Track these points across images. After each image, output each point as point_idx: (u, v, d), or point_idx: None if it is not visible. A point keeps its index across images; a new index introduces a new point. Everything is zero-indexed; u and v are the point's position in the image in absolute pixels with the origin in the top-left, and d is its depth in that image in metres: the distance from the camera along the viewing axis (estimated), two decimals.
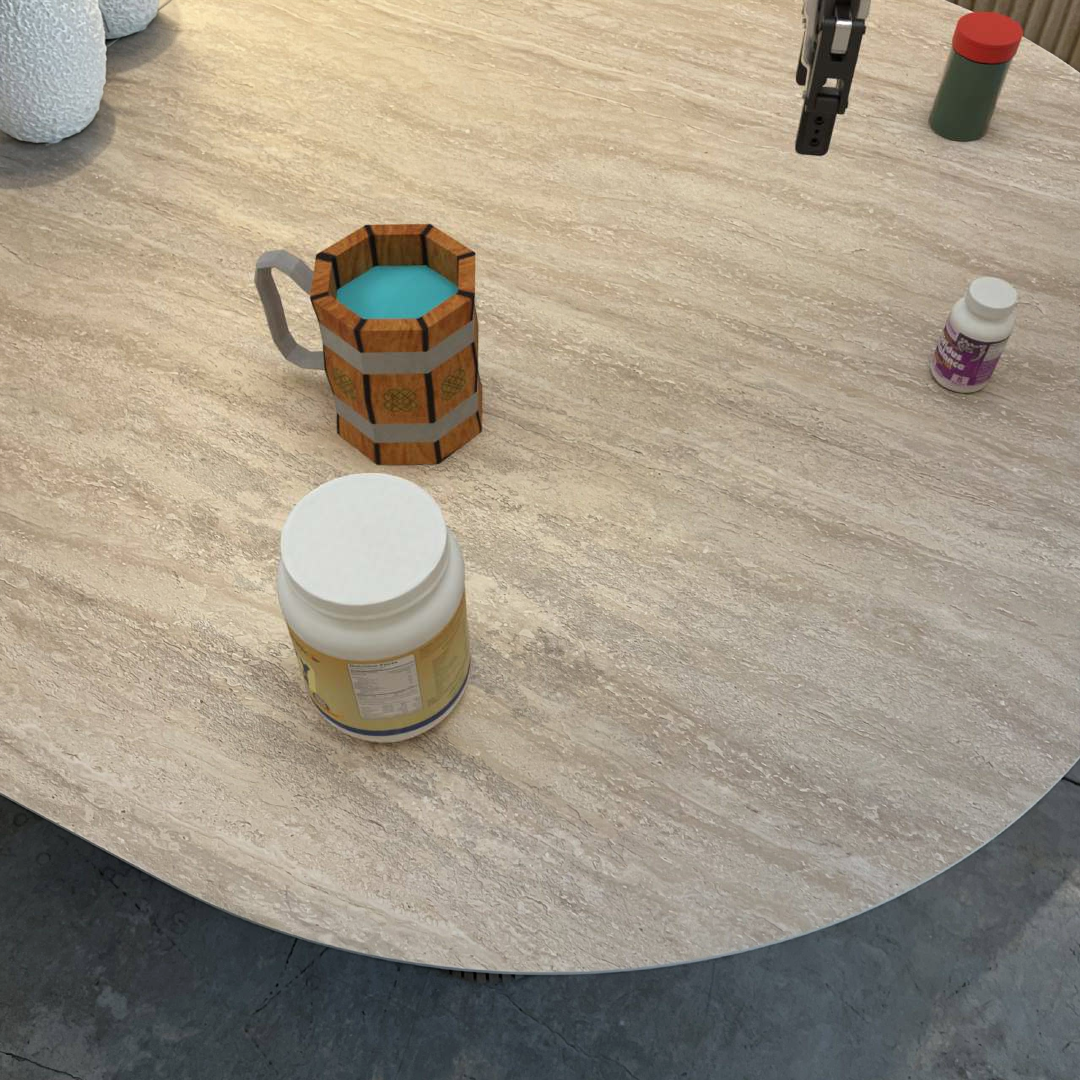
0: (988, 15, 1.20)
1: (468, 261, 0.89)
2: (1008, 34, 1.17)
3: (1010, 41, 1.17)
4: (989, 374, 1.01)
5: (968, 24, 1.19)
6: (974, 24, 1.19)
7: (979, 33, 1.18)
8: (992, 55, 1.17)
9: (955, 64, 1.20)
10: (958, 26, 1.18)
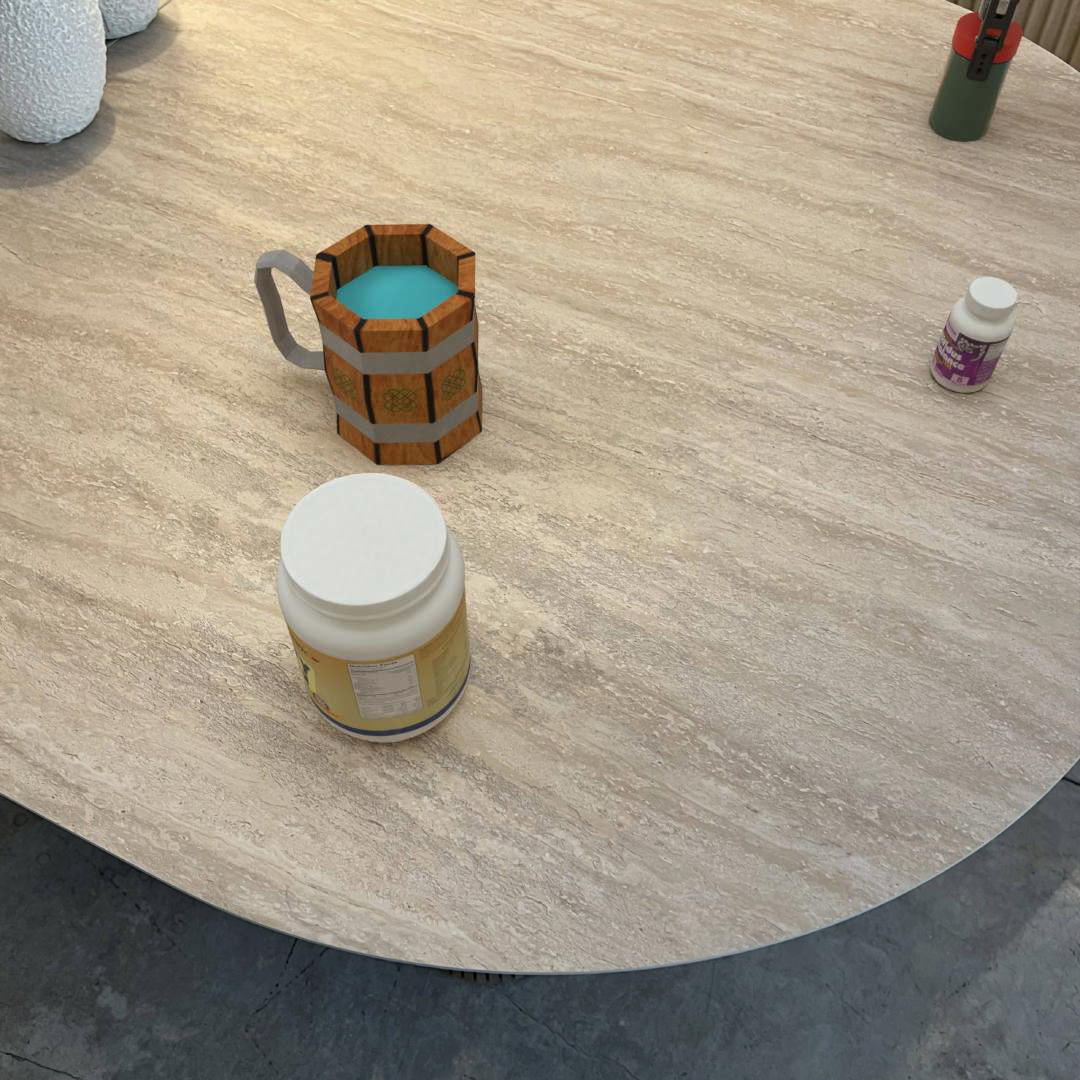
0: None
1: (468, 261, 0.89)
2: (1008, 34, 1.17)
3: (1010, 41, 1.17)
4: (989, 374, 1.01)
5: (968, 24, 1.19)
6: (974, 24, 1.19)
7: None
8: None
9: (955, 64, 1.20)
10: (958, 26, 1.18)
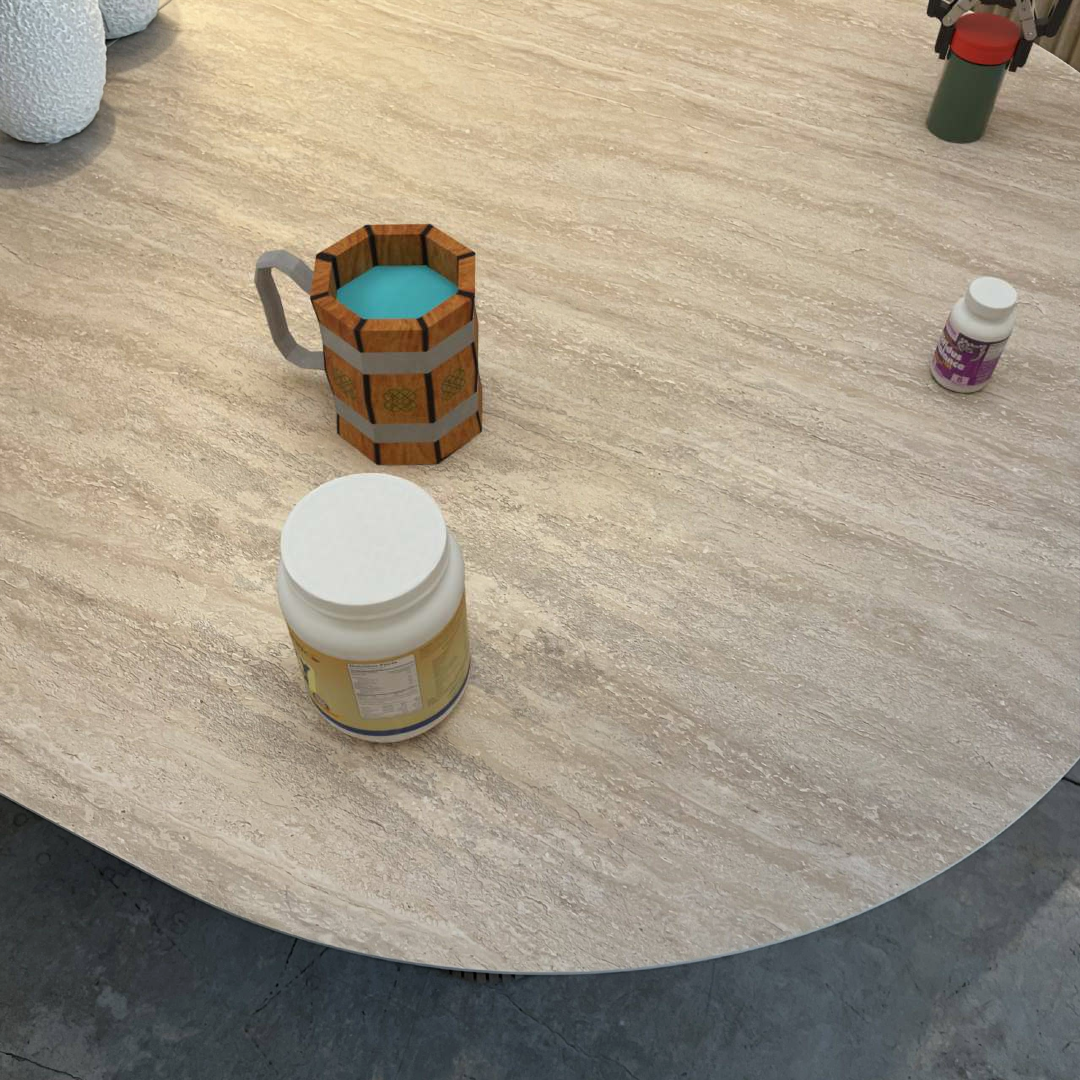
0: (963, 26, 1.18)
1: (468, 261, 0.89)
2: (996, 21, 1.19)
3: (1009, 21, 1.19)
4: (989, 374, 1.01)
5: (986, 39, 1.17)
6: (984, 36, 1.17)
7: (1001, 36, 1.17)
8: None
9: (954, 67, 1.20)
10: (992, 45, 1.16)
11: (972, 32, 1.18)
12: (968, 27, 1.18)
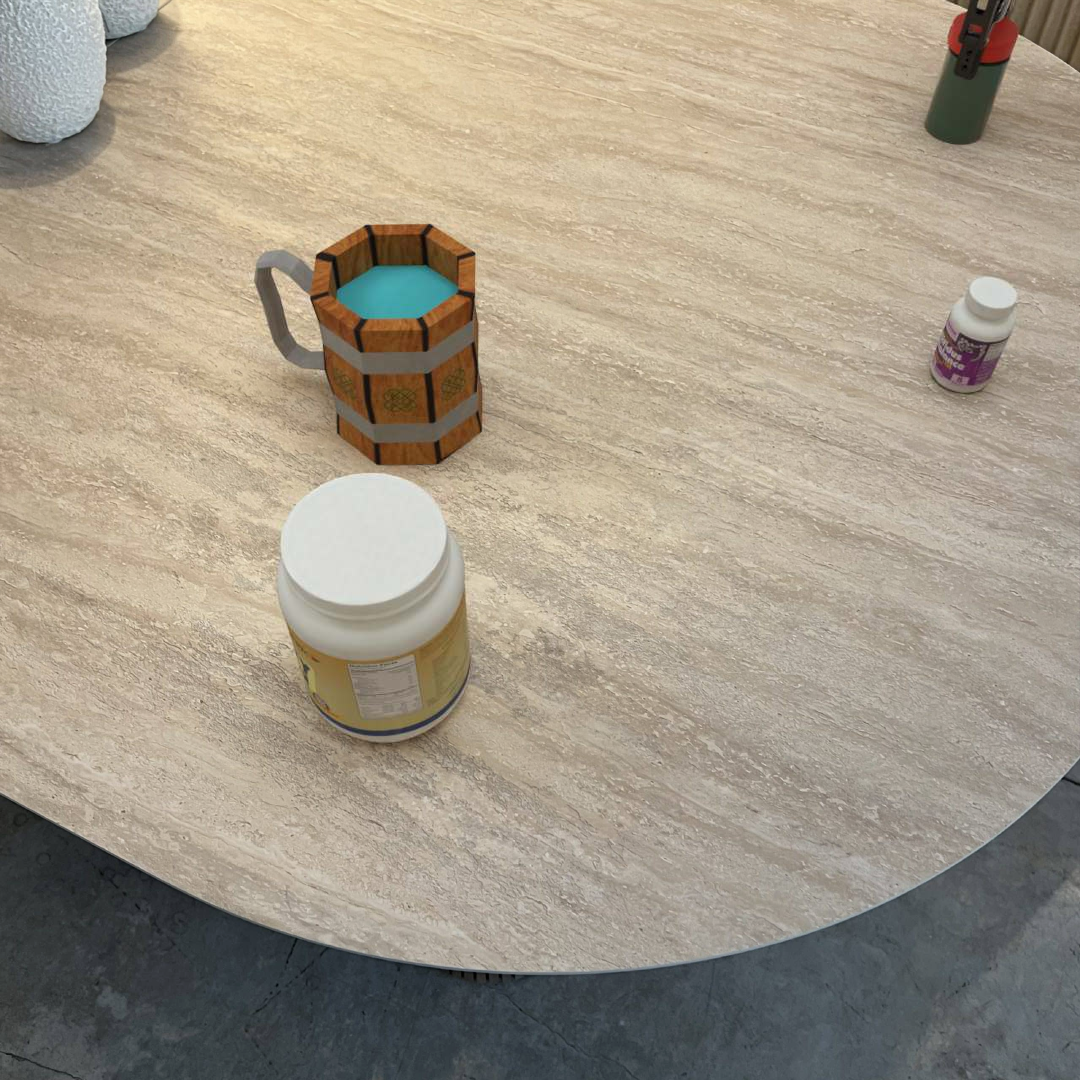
0: None
1: (468, 261, 0.89)
2: None
3: None
4: (989, 374, 1.01)
5: (1006, 33, 1.17)
6: (1000, 32, 1.17)
7: (999, 23, 1.18)
8: None
9: None
10: (1017, 33, 1.17)
11: (992, 36, 1.17)
12: None
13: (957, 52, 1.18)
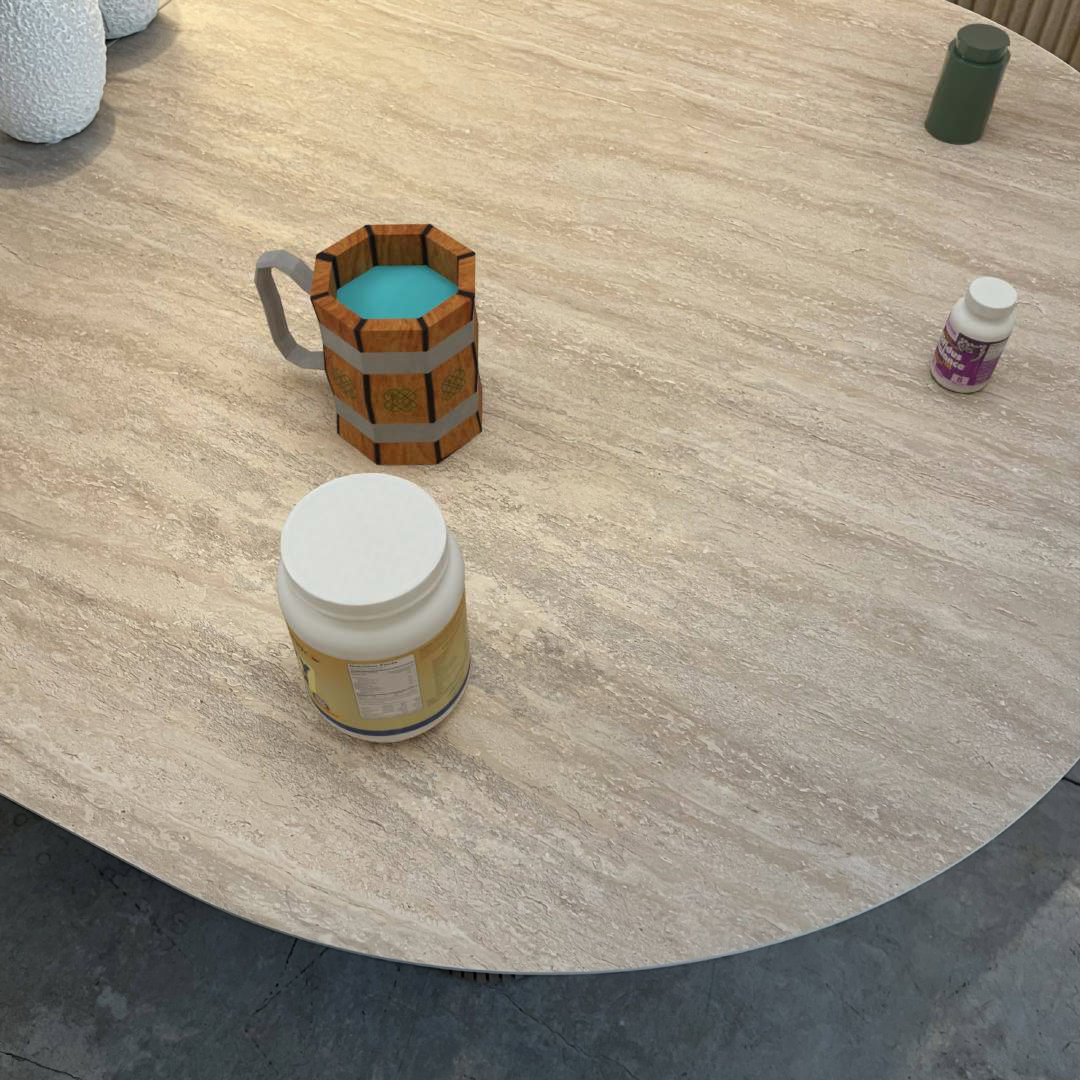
0: None
1: (468, 261, 0.89)
2: None
3: None
4: (989, 374, 1.01)
5: None
6: None
7: None
8: None
9: (953, 69, 1.19)
10: None
11: None
12: None
13: None
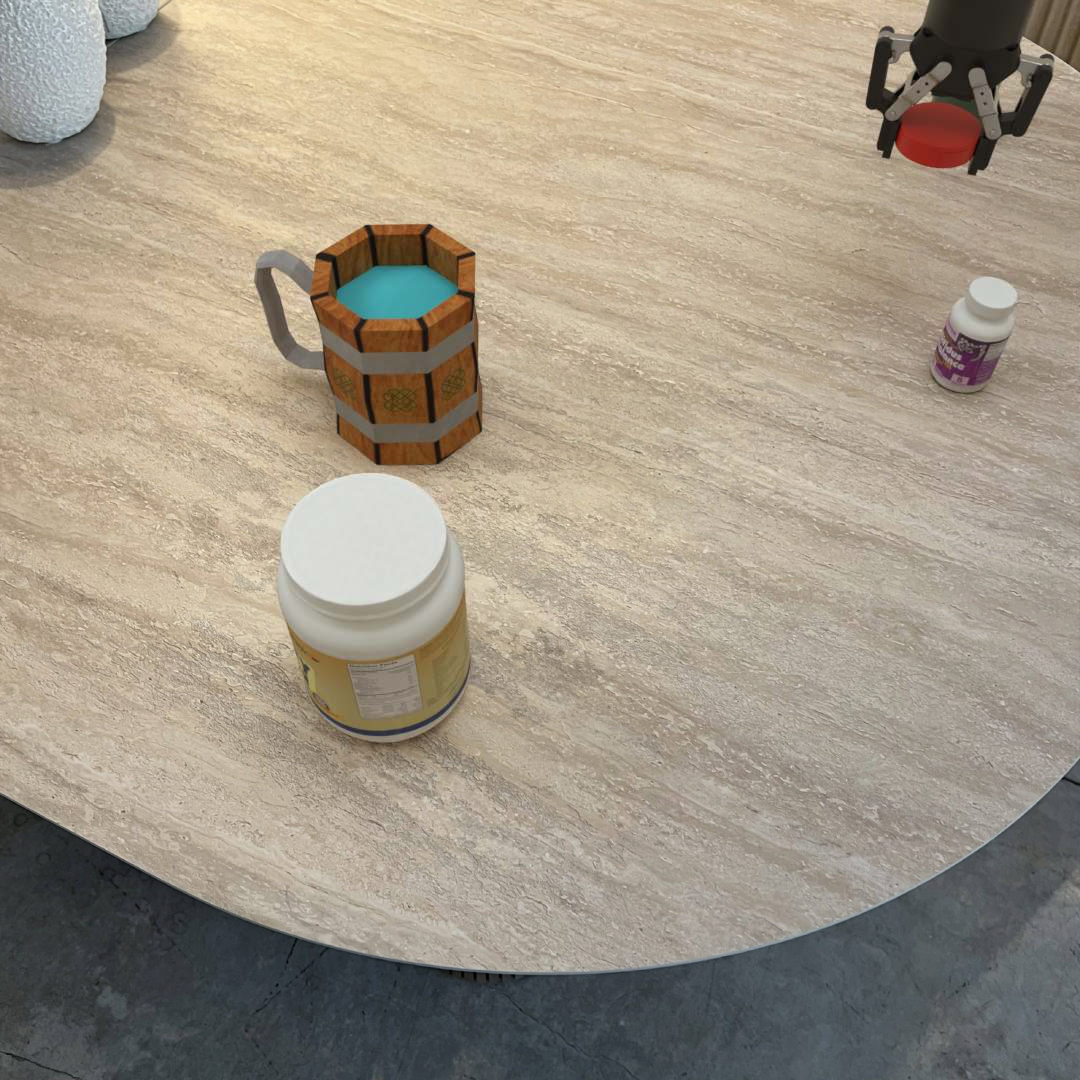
0: (972, 127, 0.95)
1: (468, 261, 0.89)
2: (930, 135, 0.94)
3: (913, 134, 0.94)
4: (989, 374, 1.01)
5: (943, 110, 0.97)
6: (945, 114, 0.96)
7: (924, 114, 0.96)
8: (897, 134, 0.96)
9: None
10: (936, 102, 0.97)
11: (960, 119, 0.96)
12: (965, 126, 0.95)
13: (969, 159, 0.95)
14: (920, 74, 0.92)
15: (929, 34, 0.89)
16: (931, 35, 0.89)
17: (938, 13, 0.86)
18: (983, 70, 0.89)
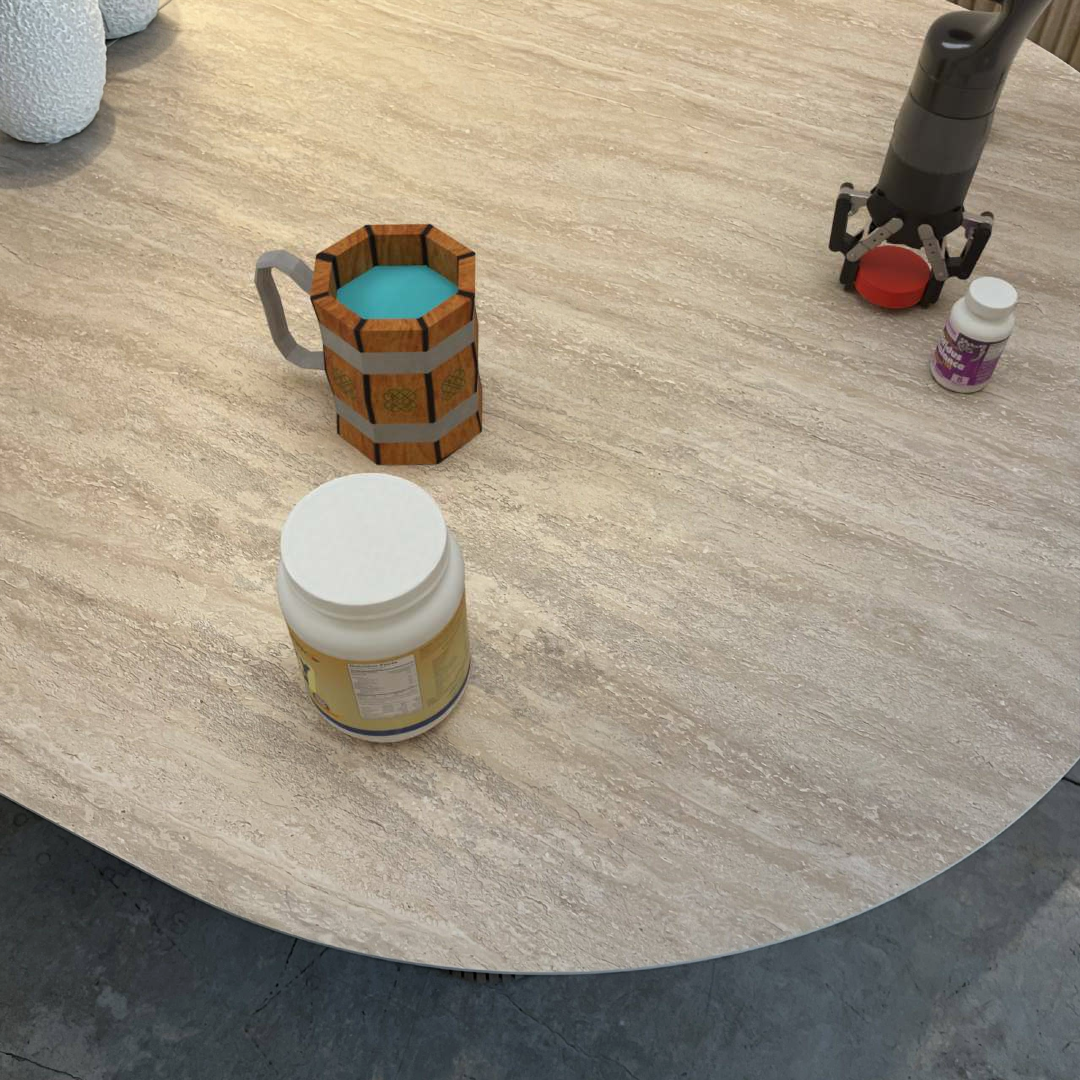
0: (922, 271, 1.07)
1: (468, 261, 0.89)
2: (884, 279, 1.06)
3: (869, 278, 1.07)
4: (989, 374, 1.01)
5: (897, 253, 1.09)
6: (899, 258, 1.08)
7: (880, 258, 1.08)
8: (856, 275, 1.08)
9: None
10: (891, 246, 1.09)
11: (912, 263, 1.08)
12: (916, 270, 1.07)
13: (919, 299, 1.08)
14: (876, 225, 1.03)
15: (883, 194, 1.01)
16: (885, 195, 1.01)
17: (890, 180, 0.98)
18: (930, 226, 1.01)
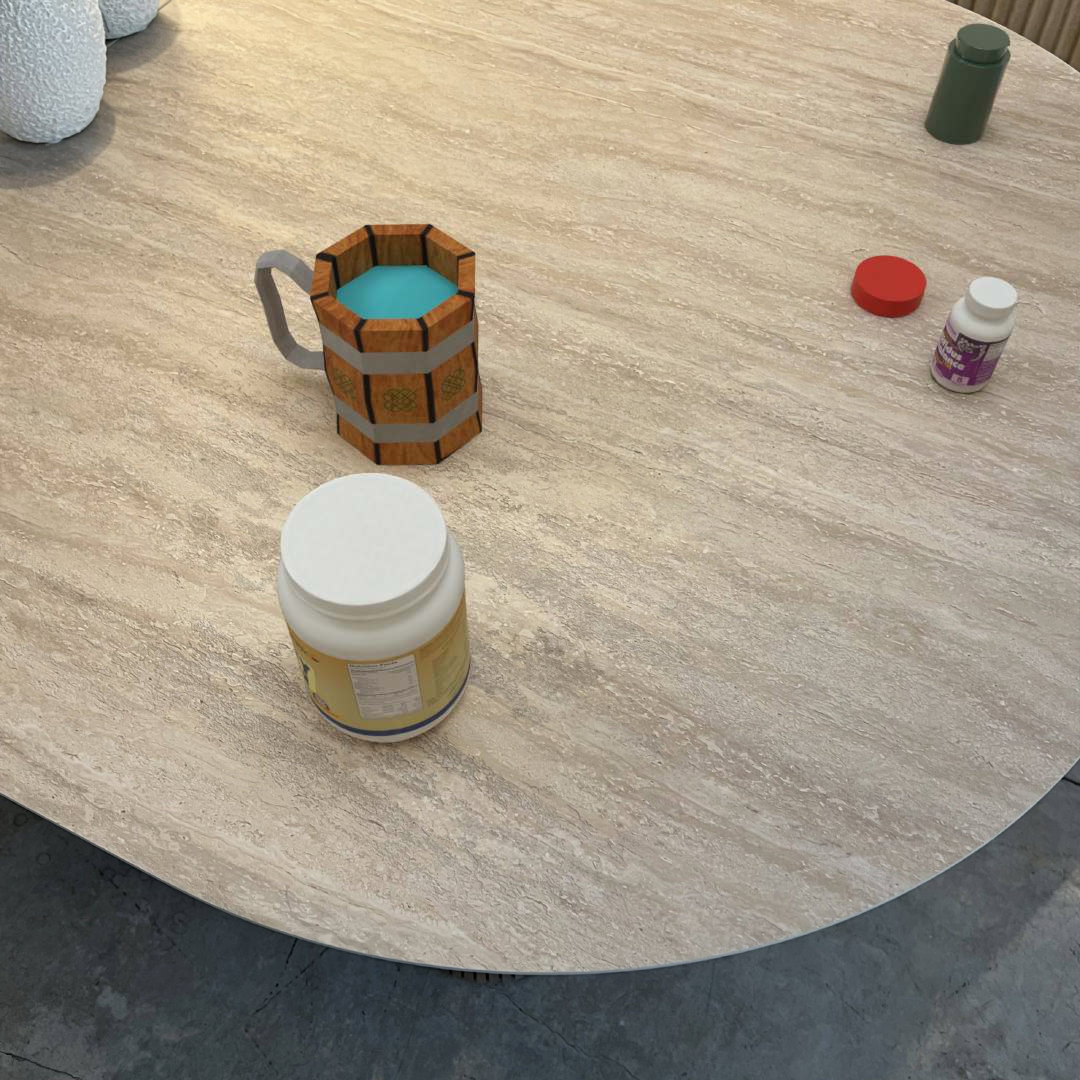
0: (918, 280, 1.08)
1: (468, 261, 0.89)
2: (880, 288, 1.07)
3: (866, 287, 1.07)
4: (989, 374, 1.01)
5: (893, 263, 1.10)
6: (895, 267, 1.09)
7: (876, 268, 1.09)
8: (853, 285, 1.09)
9: (953, 69, 1.19)
10: (887, 255, 1.10)
11: (908, 273, 1.09)
12: (912, 279, 1.08)
13: (915, 308, 1.08)
14: None
15: None
16: None
17: None
18: None
